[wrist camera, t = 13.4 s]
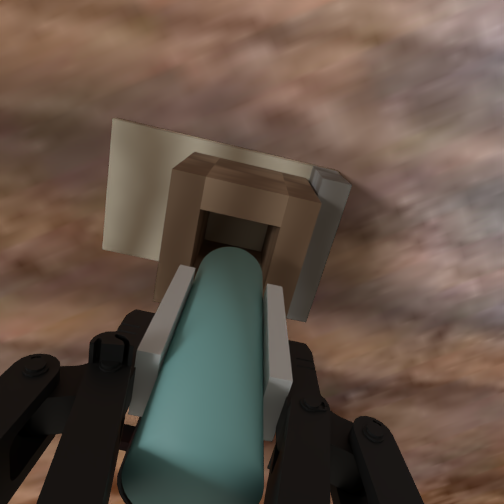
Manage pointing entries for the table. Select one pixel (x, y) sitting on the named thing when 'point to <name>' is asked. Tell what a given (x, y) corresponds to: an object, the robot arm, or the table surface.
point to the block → (241, 206)
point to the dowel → (207, 395)
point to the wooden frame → (219, 225)
